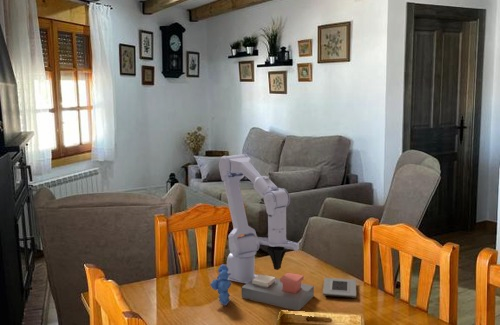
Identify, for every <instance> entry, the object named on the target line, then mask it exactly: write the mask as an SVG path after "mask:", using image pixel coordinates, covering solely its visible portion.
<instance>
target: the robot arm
mask: <svg viewBox="0 0 500 325" xmlns="http://www.w3.org/2000/svg"><path fill="white" fill-rule="evenodd" d="M218 170H219V174H220V178H221V181H222V182H223V186H224V189H225V194H226V198H227V204H228V208H229V212H230V217H231V222H232V226H233V227H232V228H233V229H232V230H231V231H230V233H229V234H228V235H227V237H228V250H229V254H228V256H227V259H226V266H227V267H228V269H229V270H228V272H227V273H228V274H229V276H228V280H229V281H230V282H231V281H232V282H237V283H242V284H244V285H245V284H247V283H248V282H250V281H251V280H253V279H254V278H255V277H257V276H258V275H259V274H255V270H256V269H255V266H256V265H255V262H256V260H255V255H257V251H259V249H260V245H264V246H268V247H267V248H266V252H267V253H268V255H269V257H270V259H271V262H272V266H273V270H276V271H278V270H280V269H282V268H281V267H282V262H283V259H284V257H285V255H286V252H287V251H288V250H293V251H295V252H298V251H299V250H300V243H299V242H295V241H291V240H288V239H287V207H288V206H289V205H290V204H291V196H290V194H289V192H288V191H287V189H286V188H281V187H278V186H277V185H276V184H275V183H274V182H273V181H272V180H271V179H270V177H269V176H268V175H261V174H260V173H259V171H258V170H257V169H256V168H255V166H253V164H252V158H251V157H249V155H248V154H247V153H242V154H233V155H223V156H221V157H220V159H219V162H218ZM244 177H245V178H247V179H248V180H249V181H250V182H251V183H252V184H253V189H254V190H255V192H256V193H257V194H259V195H260V197H262V199H263V202H264V205H265V209H266V214H267V236H268V237H261V236H258V235H257V233H256V230H255V229H254V228H253V227H251V226H250V225H249V222H248V218H247V214H246V208H245V204H244V200H243V195H242V191H241V186H240V181H241V180H242V179H244Z"/></svg>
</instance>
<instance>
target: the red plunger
mask: <svg viewBox="0 0 500 325" xmlns="http://www.w3.org/2000/svg"><path fill="white" fill-rule="evenodd" d="M304 277H305V276H304V275H303V274H302V275H301V274H298V273H297V274H296V273H291V272H287V273H285V274H283V275H282V276H281V277H280V278H279V279H280V282H282V283H283V291H284V292H288V293H293V294H297V293H298V292H299V291H300V290H301V283H302V281H304V279H305V278H304Z"/></svg>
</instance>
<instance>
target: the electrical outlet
mask: <svg viewBox="0 0 500 325" xmlns="http://www.w3.org/2000/svg"><path fill="white" fill-rule="evenodd" d="M322 287H323V289H322V295H323V296H327V297H329V296H330V297H340V298H353V299H355V298H356V297H357V279H349V278H348V279H347V278H346V279H345V278H335V277H324V279H323V286H322Z"/></svg>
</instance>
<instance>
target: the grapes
mask: <svg viewBox="0 0 500 325" xmlns="http://www.w3.org/2000/svg"><path fill="white" fill-rule="evenodd" d="M228 270H229V269H228V267H227V264H224V263H222V264H221V265H220V266H219V267H218V270H217V272H218V275H217V278H216V279H215V278H214V279H213V280H212V281H211V283H210V287H211V289H213V291H217V293H218V301H219V302H220V304H221V305H222V306H227V304H229V302H230V296H231V295H230V293H229V288H230V287H231V286H232V282H231V280H228V276H229V274H228V273H227V272H228Z"/></svg>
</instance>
